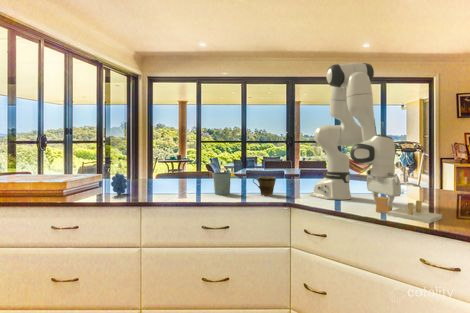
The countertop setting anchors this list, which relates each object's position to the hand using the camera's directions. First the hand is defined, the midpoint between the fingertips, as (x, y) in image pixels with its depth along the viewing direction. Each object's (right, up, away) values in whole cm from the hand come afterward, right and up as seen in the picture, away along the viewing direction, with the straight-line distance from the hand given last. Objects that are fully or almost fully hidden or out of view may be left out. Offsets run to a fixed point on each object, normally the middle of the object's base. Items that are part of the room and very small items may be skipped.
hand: (382, 204), depth 138 cm
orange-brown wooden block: (0, -3, 0) cm, 3 cm away
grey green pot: (-72, -1, +43) cm, 84 cm away
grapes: (-127, -1, +37) cm, 132 cm away
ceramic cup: (-48, -1, +40) cm, 63 cm away
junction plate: (+9, -4, -9) cm, 13 cm away
